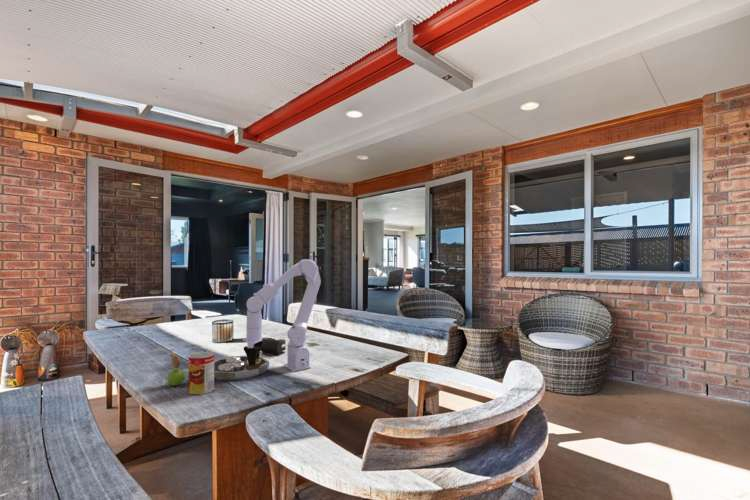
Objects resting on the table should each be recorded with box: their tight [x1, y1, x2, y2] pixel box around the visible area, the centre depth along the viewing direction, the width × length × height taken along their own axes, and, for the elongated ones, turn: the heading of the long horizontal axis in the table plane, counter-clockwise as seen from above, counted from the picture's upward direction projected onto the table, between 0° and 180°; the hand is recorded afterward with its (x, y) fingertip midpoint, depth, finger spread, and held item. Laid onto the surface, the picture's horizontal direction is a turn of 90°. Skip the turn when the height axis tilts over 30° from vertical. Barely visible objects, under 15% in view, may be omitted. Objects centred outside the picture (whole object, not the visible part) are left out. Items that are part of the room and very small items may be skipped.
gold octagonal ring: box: [246, 359, 261, 370], centre depth 142 cm, size 5×5×3 cm
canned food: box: [187, 350, 215, 395], centre depth 122 cm, size 8×8×12 cm
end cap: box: [260, 337, 287, 356], centre depth 168 cm, size 10×7×7 cm
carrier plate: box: [214, 355, 270, 382], centre depth 142 cm, size 22×22×4 cm
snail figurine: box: [166, 348, 186, 387], centre depth 127 cm, size 5×6×12 cm
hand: (253, 362), depth 142 cm, fingers open, 7 cm apart
